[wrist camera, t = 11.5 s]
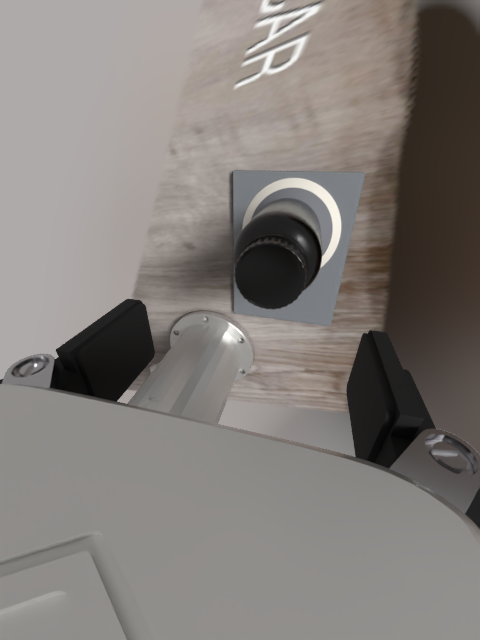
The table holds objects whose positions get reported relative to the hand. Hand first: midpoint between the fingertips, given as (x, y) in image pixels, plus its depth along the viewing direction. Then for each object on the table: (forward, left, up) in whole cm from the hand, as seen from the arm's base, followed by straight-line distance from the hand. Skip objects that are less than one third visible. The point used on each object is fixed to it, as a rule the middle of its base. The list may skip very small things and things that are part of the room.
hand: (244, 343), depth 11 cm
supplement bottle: (0, 0, -19) cm, 19 cm away
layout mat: (-1, -2, -20) cm, 20 cm away
